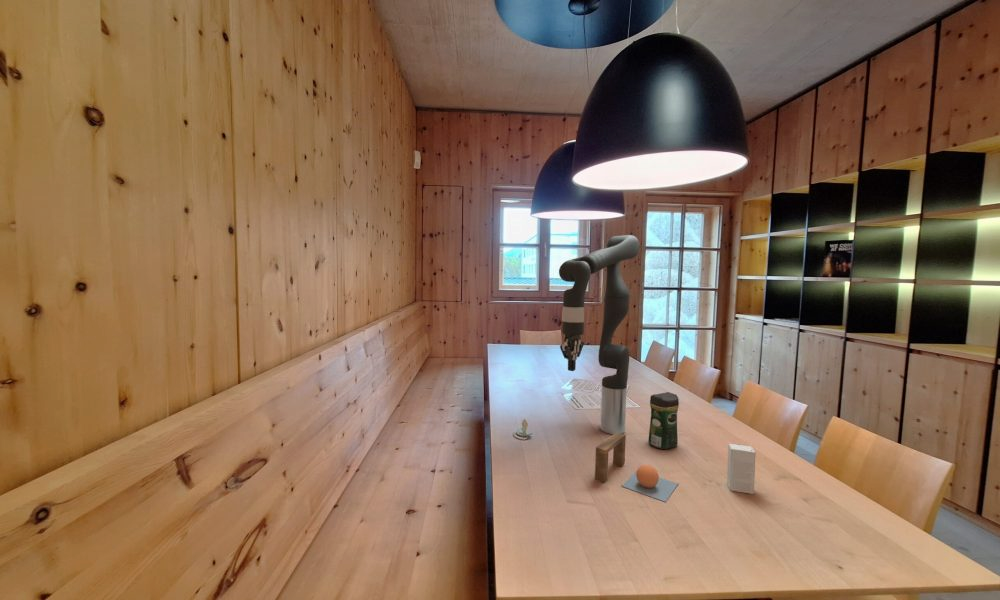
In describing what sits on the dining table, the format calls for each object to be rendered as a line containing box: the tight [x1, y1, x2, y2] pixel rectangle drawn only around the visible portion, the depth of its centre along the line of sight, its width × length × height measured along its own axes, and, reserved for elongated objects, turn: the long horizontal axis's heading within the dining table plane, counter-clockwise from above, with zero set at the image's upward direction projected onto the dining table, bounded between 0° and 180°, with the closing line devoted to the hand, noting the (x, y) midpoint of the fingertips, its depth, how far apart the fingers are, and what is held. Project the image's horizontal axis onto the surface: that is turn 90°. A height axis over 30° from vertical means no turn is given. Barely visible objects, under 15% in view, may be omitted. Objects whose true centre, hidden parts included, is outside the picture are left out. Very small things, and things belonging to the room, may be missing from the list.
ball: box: [635, 464, 660, 488], centre depth 113 cm, size 6×6×6 cm
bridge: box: [594, 432, 627, 484], centre depth 121 cm, size 3×15×10 cm, turn 141°
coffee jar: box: [648, 391, 680, 450], centre depth 141 cm, size 10×8×19 cm
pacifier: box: [513, 419, 534, 441], centre depth 146 cm, size 7×6×6 cm
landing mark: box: [621, 470, 679, 503], centre depth 114 cm, size 12×12×1 cm
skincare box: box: [726, 443, 757, 495], centre depth 112 cm, size 6×4×12 cm
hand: (571, 370), depth 136 cm, fingers closed
